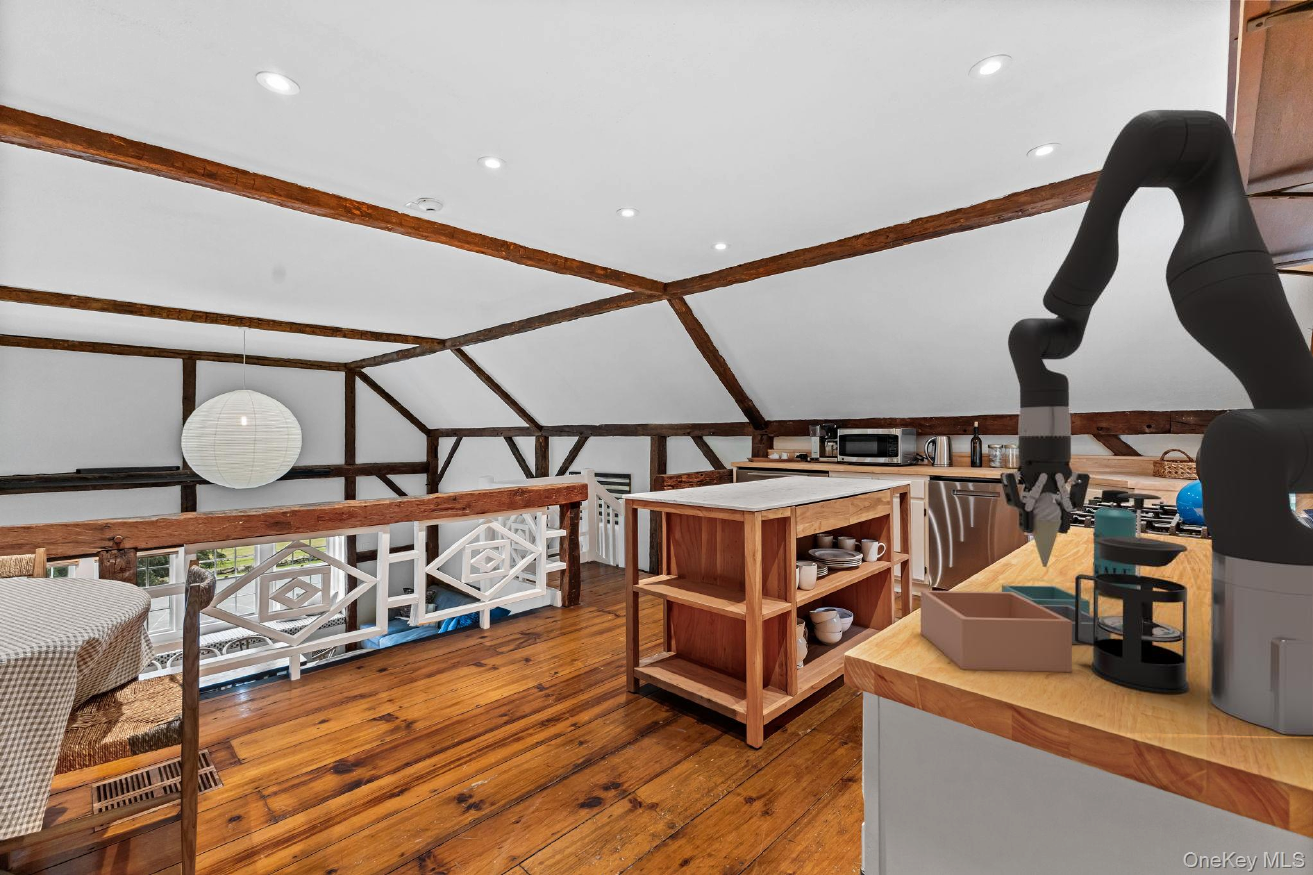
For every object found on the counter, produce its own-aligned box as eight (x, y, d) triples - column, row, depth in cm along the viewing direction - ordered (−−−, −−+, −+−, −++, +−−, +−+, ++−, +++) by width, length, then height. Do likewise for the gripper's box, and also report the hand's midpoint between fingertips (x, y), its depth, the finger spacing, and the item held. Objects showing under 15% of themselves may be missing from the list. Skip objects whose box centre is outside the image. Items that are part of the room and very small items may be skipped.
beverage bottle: (1120, 592, 111) (1121, 488, 111) (1146, 602, 104) (1146, 492, 104) (1084, 591, 112) (1084, 488, 112) (1107, 601, 105) (1108, 491, 105)
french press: (1200, 680, 72) (1201, 494, 72) (1192, 704, 65) (1193, 500, 65) (1084, 653, 80) (1085, 487, 80) (1067, 672, 74) (1067, 492, 74)
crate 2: (1110, 644, 84) (1110, 624, 84) (1044, 643, 84) (1044, 622, 84) (1069, 624, 93) (1069, 605, 93) (1009, 622, 93) (1009, 604, 93)
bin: (1071, 671, 74) (1071, 621, 74) (962, 669, 75) (962, 619, 75) (1012, 635, 88) (1013, 592, 88) (920, 633, 88) (920, 590, 88)
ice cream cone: (1023, 566, 100) (1023, 479, 100) (1031, 562, 103) (1030, 478, 103) (1058, 571, 96) (1058, 481, 96) (1065, 566, 100) (1064, 479, 100)
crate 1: (1089, 619, 95) (1089, 600, 95) (1031, 617, 96) (1031, 599, 96) (1054, 602, 104) (1054, 586, 104) (1001, 601, 105) (1001, 585, 105)
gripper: (1013, 433, 97) (1013, 535, 96) (1102, 433, 96) (1103, 536, 96) (989, 434, 104) (990, 529, 104) (1073, 434, 103) (1073, 529, 103)
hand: (1044, 532), depth 100 cm, fingers closed on ice cream cone, 5 cm apart
